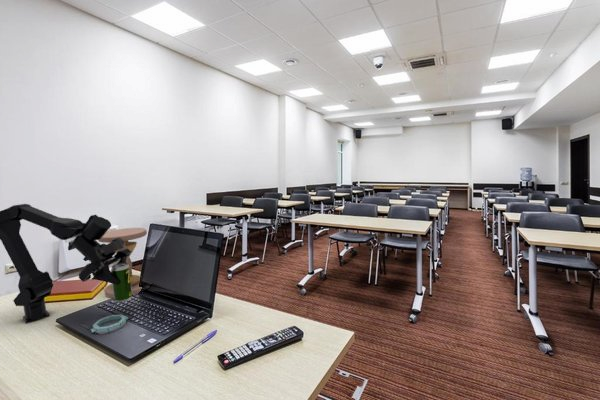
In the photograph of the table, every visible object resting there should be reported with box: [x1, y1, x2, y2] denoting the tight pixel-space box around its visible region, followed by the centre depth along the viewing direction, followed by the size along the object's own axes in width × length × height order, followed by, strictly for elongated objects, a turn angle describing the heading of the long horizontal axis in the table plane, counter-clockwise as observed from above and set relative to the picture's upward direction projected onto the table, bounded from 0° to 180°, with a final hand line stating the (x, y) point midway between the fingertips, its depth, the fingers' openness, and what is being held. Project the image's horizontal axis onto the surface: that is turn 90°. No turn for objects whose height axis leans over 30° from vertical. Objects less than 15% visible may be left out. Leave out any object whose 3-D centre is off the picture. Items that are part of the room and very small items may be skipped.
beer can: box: [110, 263, 133, 303], centre depth 102 cm, size 5×5×12 cm
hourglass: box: [97, 227, 148, 299], centre depth 126 cm, size 18×18×25 cm
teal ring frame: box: [90, 314, 129, 334], centre depth 97 cm, size 9×10×2 cm
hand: (125, 280), depth 101 cm, fingers closed on beer can, 5 cm apart
